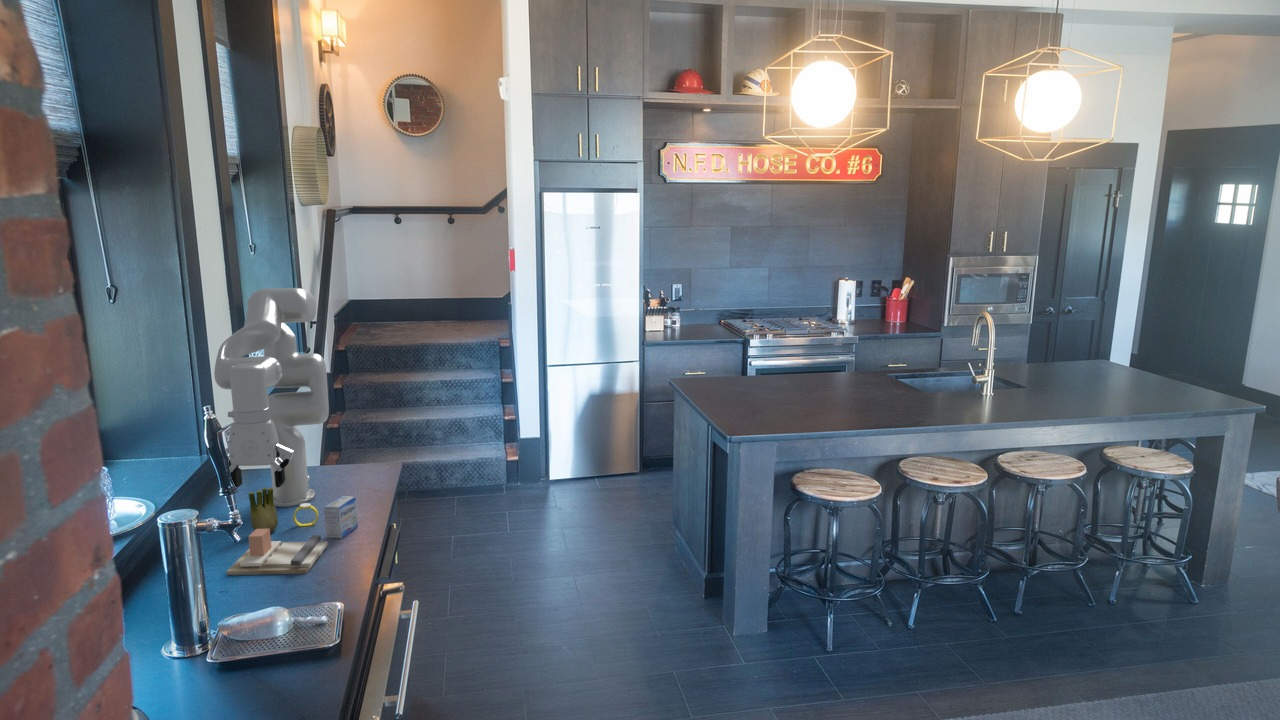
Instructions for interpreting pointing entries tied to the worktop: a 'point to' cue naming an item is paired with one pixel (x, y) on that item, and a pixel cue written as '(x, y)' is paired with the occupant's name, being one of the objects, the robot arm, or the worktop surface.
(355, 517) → the medicine box
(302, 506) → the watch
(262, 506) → the fennel bulb
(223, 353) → the robot arm
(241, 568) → the board
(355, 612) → the worktop surface
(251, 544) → the terracotta pink brick
